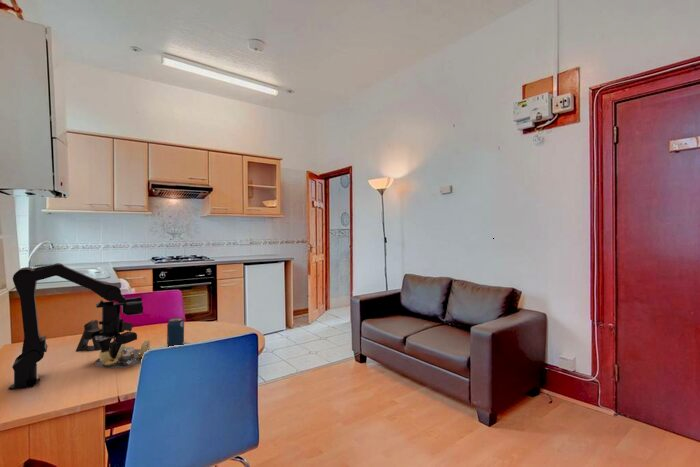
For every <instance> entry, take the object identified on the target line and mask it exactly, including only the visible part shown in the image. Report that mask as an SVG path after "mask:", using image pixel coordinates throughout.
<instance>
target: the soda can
mask: <svg viewBox="0 0 700 467" xmlns="http://www.w3.org/2000/svg"><path fill="white" fill-rule="evenodd" d="M166 327H167V328H166V345H167V346H168V347H169V346H174V345H183V344H184V342H185V322H184V318H182V317H173V318H169V320H168V322H167V325H166Z"/></svg>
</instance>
